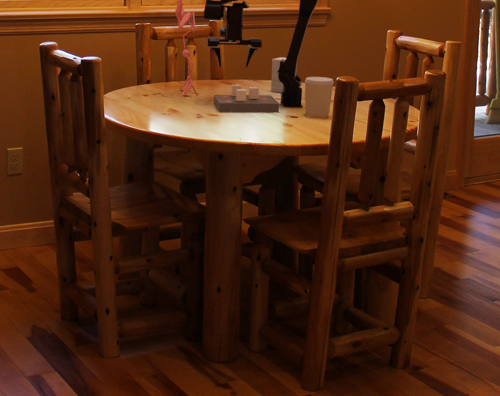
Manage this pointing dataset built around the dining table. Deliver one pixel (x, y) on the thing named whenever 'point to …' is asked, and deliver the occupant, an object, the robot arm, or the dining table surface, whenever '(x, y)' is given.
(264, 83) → the dining table surface
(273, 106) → the switch unit
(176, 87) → the dining table surface
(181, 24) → the figurine
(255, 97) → the slider
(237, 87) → the slider
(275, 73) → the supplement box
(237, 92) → the slider
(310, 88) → the coffee cup
